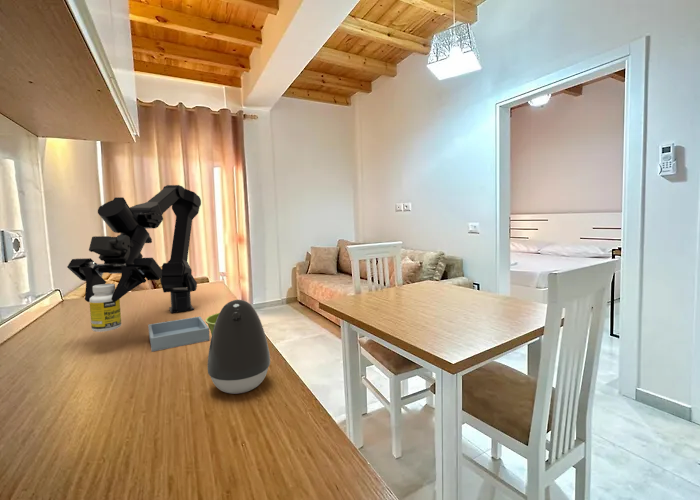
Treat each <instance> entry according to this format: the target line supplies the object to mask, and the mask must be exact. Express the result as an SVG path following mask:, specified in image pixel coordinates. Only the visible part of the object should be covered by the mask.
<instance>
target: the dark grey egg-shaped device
mask: <svg viewBox="0 0 700 500" xmlns="http://www.w3.org/2000/svg"><path fill="white" fill-rule="evenodd" d="M218 313H219V315H218V317H217V320H216V323H215V326H214V329H213V333H212V335H211V338H210V342H209V347H208V348H209V349H208V354H207V356H208V357H207V375H209V377H210V379H211V381H212V383H213V385H214V386H215V387H216V388H217V389H218V390H220V391H221V392H224V393H226V394H233V395H234V394H235V395H236V394H244V393H247V392H249V391H252V390H254V389H256V388H257V387H258V386H260V385H261V383H262V382H263V381H264V379H265V378H266V375H267V374H268V370H269V367H270V365H271V356H270V355H271V354H270V349H269V345H268V340H267V337H266V333H265V330H264V326H263V324H262V321H261V319H260V317H259V315H258V313H257V311H256V309H255V308H254V307H253V305H252V304H251V303H249V301H246V300H243V299H234V300H233V299H232V300H231V301H229V302H227V303H226V304H224V306H223V307H222V308H221V310H220V312H218Z"/></svg>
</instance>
